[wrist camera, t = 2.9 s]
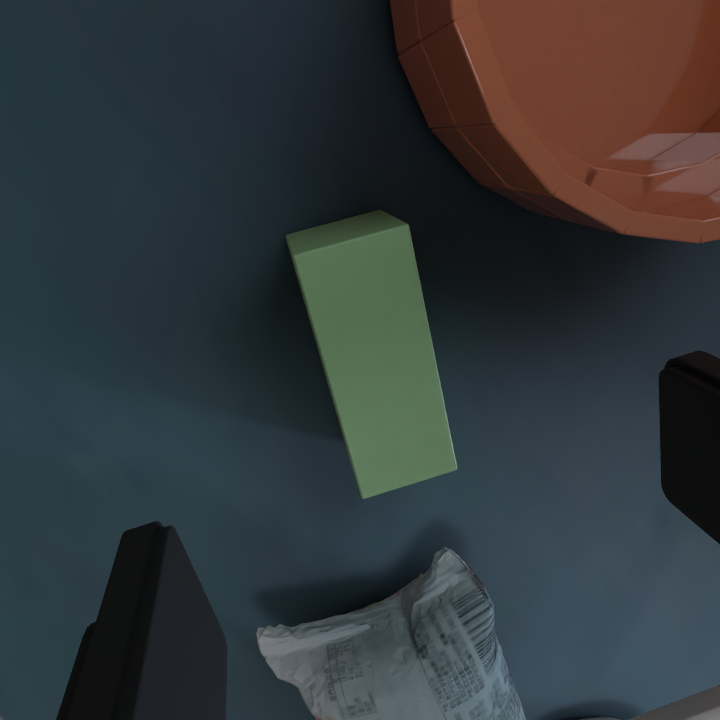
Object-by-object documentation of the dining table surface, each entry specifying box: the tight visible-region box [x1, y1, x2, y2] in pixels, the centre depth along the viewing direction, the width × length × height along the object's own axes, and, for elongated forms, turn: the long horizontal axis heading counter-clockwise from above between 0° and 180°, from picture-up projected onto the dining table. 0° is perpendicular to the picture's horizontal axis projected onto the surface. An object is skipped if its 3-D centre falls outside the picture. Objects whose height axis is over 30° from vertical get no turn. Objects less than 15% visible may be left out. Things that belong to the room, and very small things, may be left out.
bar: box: [286, 210, 457, 499], centre depth 18 cm, size 8×3×4 cm, turn 14°
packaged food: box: [256, 547, 526, 720], centre depth 23 cm, size 9×12×5 cm
